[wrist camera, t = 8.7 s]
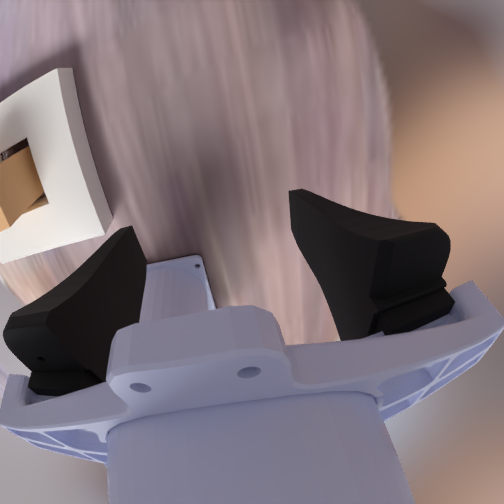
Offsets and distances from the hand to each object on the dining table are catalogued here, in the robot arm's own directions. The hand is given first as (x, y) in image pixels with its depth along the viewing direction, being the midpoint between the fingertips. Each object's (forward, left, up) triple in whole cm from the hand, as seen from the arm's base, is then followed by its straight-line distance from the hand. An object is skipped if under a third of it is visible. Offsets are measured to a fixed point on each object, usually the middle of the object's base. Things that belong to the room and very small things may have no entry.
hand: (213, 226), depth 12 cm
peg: (+4, +15, -9) cm, 18 cm away
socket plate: (+4, +15, -9) cm, 18 cm away
